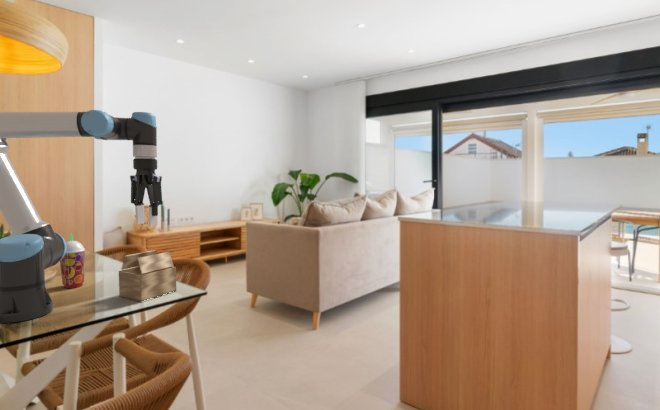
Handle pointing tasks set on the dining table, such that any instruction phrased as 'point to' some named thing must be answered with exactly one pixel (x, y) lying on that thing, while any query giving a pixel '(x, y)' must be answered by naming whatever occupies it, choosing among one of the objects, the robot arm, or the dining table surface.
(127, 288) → the carton
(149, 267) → the near flap
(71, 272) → the smoothie
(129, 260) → the far flap
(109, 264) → the dining table surface
